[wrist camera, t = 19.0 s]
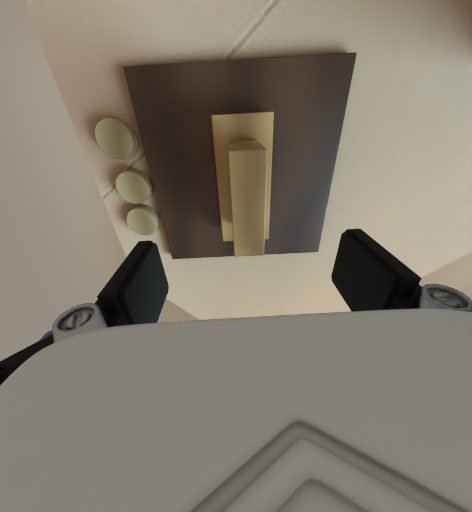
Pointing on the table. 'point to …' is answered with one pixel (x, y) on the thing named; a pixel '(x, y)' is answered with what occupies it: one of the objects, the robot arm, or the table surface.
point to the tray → (202, 143)
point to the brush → (244, 178)
